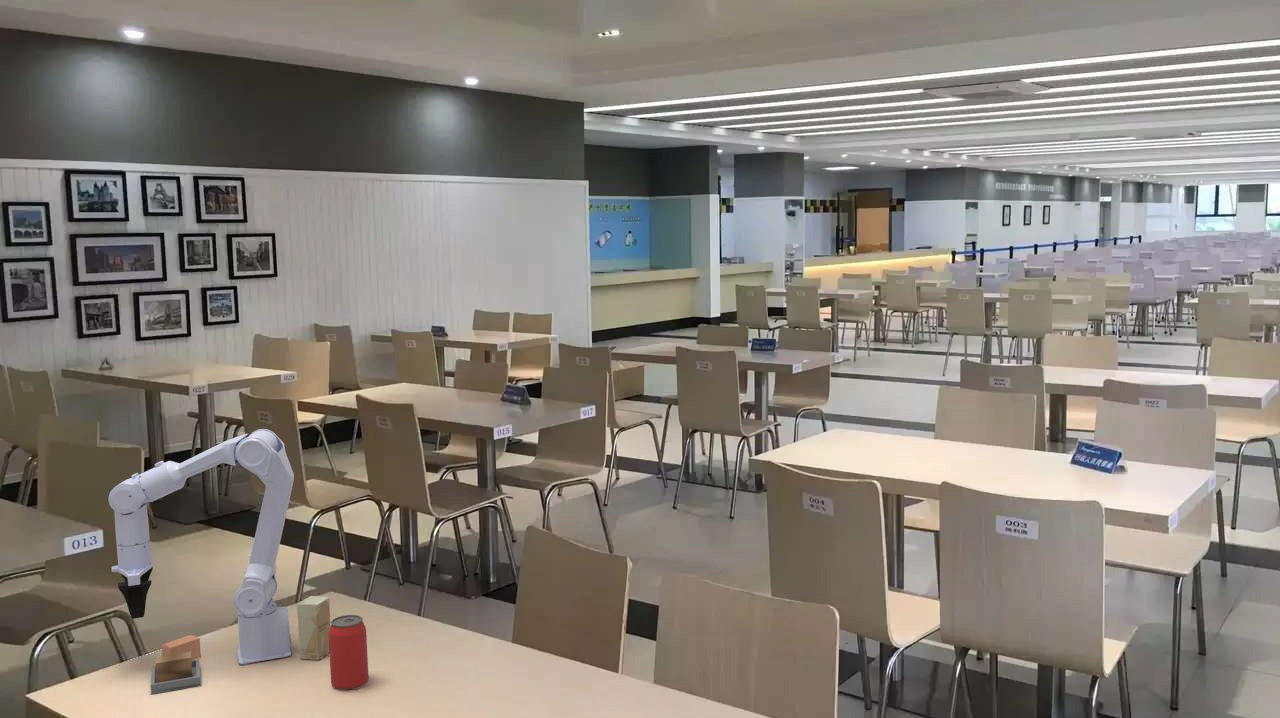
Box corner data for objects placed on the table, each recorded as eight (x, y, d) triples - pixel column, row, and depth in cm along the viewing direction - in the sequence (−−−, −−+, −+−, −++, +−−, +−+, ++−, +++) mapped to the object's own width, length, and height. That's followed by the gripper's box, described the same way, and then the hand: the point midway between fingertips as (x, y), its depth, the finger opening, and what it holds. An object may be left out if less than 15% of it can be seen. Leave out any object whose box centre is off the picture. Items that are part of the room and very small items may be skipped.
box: (319, 660, 199) (316, 605, 198) (299, 659, 200) (295, 604, 199) (332, 650, 204) (329, 595, 203) (312, 649, 205) (309, 594, 204)
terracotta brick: (192, 654, 204) (190, 634, 204) (201, 657, 202) (199, 638, 202) (162, 664, 199) (161, 644, 199) (171, 668, 197) (170, 648, 197)
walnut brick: (192, 671, 194) (190, 651, 193) (192, 678, 191) (191, 657, 190) (157, 677, 191) (155, 657, 191) (156, 684, 189) (155, 663, 188)
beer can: (375, 678, 190) (372, 615, 189) (355, 693, 184) (351, 628, 183) (345, 674, 193) (342, 612, 191) (323, 688, 186) (320, 624, 185)
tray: (199, 667, 197) (199, 658, 197) (200, 685, 189) (200, 676, 189) (152, 675, 194) (151, 666, 194) (151, 694, 185) (150, 685, 185)
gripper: (112, 535, 202) (117, 602, 204) (107, 555, 189) (113, 626, 190) (151, 530, 205) (156, 597, 206) (150, 549, 192) (155, 620, 193)
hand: (138, 611), depth 199 cm, fingers open, 7 cm apart
